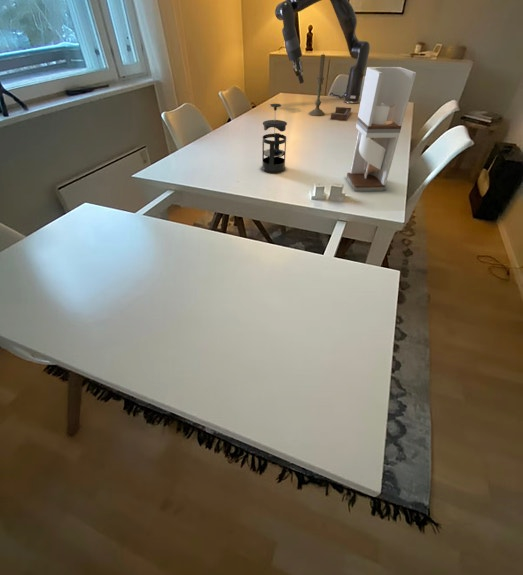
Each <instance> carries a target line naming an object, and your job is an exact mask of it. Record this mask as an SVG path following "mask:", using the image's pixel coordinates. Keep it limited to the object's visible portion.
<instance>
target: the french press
mask: <svg viewBox="0 0 523 575" xmlns="http://www.w3.org/2000/svg"><path fill="white" fill-rule="evenodd" d="M269 107H273V111H274V119H268V120H265V121H263V122H262V125H263V130H264V131H268V129H270V128H273V133H267V134H264V135H263V136H262V156H261V158H262V162H261V163H262V166H261V170H262V171H263V172H265V173H267V174H280V173H282V172H285V170H286V153H287V152H286V150H287V136H286V135H284V134H281V133H279V132H276V130H278V131H280V132H282V133H283V132H285V131H286V127H287V125H288V122H287V121H285V120H281V119H276V117H277V116H276V115H277V114H276V113H277V108H280V107H282V104H280V103H270V104H269ZM271 138H273V140H270V139H271ZM265 144H267V145H269V148H267V149H265ZM283 144H284V150H283V149H280V145H283Z"/></svg>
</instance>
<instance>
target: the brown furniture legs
mask: <svg viewBox="0 0 523 575" xmlns="http://www.w3.org/2000/svg"><path fill="white" fill-rule="evenodd" d="M334 111H335V112H331V113H330V120H333V121H342V122H343V121H344V122H346V121H347V120H348V118H349V117H350V116H351V112H352V107H346V106H345V107H344V106H336V107H335V110H334Z"/></svg>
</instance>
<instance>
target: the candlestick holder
mask: <svg viewBox="0 0 523 575" xmlns="http://www.w3.org/2000/svg"><path fill="white" fill-rule="evenodd" d="M325 60H326V54H324V52H323V53H322V54H320V62H319V73H318V77H316V79H317V82H316V83H317V85H318V86H317V94H316V95H317V96H316V97H317V98H316V100H315V101H314V104H315V108H314V109H312V110H311V111H310V112H309V115H310V116H312V117H322V116H325V112H324V111H323V110H322V109H321V108H320V106H321V104H322V101H321V99H320V98H321V92H322V85H323V84H324V79H325V78H324V70H325V69H324V68H325Z"/></svg>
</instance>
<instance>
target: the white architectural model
mask: <svg viewBox="0 0 523 575" xmlns="http://www.w3.org/2000/svg"><path fill="white" fill-rule="evenodd" d="M416 76H417V72H415V71H413V70H410V69H407V68H405V67H403V66H366V69H365V76H364V81H363V86H362V92H361V97H360V101H359V102H360V103H359V108H358V114H357V119H356V124H355V128H356V129H357V130H358V131H357V138H356V142H355V146H354V152H353V156H352V163H351V168H350V172H346V180H347V181H348V183H349V184H350V186H351V188H352V189H353V191H354V192H375V191H376V192H377V191H379V192H381V191H382V192H383V191H385V189H386V185H387V181H388V177H389V174H390V170H391V167H392V163H393V159H394V155H395V152H396V148H397V144H398V142H399V138H400V134H401V131H402V130H401V129H402V126H403V123H404V119H405V115H406V113H407V108H408V104H409V101H410V98H411V93H412V90H413V86H414V83H415V79H416Z"/></svg>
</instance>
